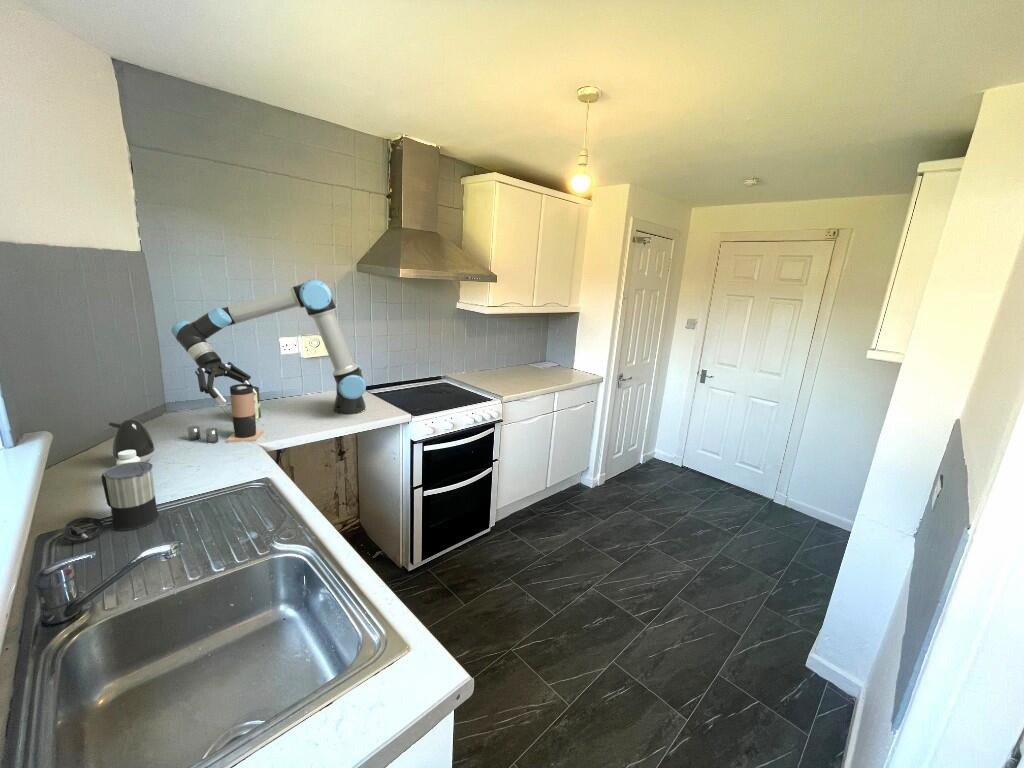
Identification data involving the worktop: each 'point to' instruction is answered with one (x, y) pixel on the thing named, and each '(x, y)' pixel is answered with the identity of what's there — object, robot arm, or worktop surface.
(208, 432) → the spacer posts
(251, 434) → the travel mug
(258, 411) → the coffee can
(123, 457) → the supplement bottle
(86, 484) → the worktop surface
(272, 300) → the robot arm
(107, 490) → the milk frother
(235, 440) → the terracotta tile
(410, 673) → the worktop surface
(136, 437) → the pump dispenser
